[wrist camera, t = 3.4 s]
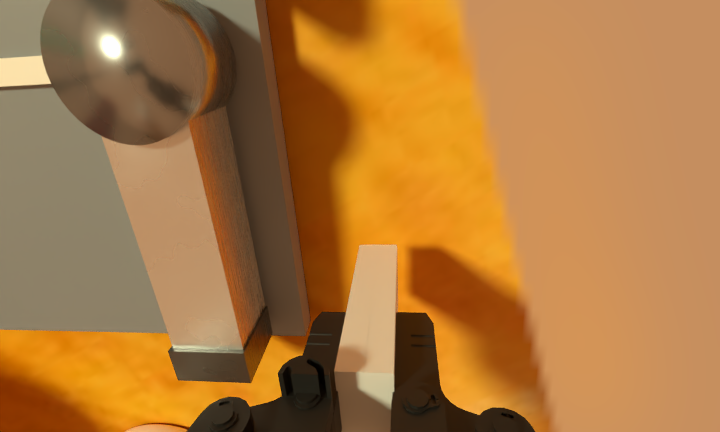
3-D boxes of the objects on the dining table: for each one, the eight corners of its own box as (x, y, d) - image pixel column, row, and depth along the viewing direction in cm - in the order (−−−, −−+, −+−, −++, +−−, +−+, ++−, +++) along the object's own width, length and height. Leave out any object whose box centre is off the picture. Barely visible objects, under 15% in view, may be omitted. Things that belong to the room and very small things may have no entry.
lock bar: (98, -4, 13) (14, -15, 10) (222, -15, 13) (169, -30, 10) (198, 331, 19) (162, 383, 16) (284, 333, 19) (263, 387, 16)
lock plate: (-367, -372, 12) (-843, -625, 7) (193, -506, 10) (13, -974, 5) (7, 314, 23) (-91, 384, 18) (310, 320, 20) (284, 400, 16)
